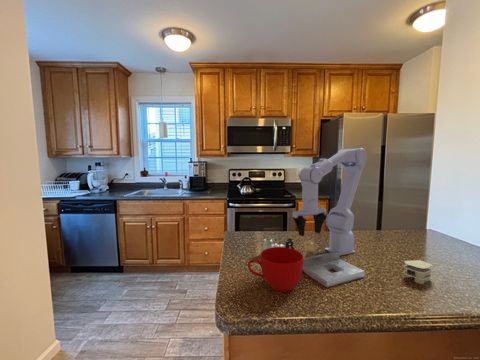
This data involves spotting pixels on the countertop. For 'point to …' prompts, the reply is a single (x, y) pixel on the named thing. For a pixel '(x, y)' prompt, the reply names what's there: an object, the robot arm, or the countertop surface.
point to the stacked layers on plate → (418, 270)
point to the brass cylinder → (309, 249)
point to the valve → (268, 244)
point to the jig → (324, 262)
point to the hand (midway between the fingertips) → (309, 234)
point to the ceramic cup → (280, 267)
